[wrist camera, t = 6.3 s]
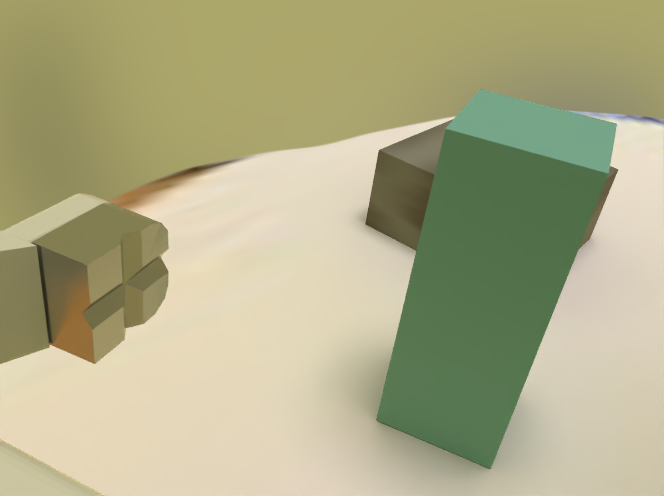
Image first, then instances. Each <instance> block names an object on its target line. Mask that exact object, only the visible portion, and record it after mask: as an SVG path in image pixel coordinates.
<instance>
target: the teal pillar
mask: <svg viewBox="0 0 664 496" xmlns="http://www.w3.org/2000/svg"><path fill="white" fill-rule="evenodd" d="M616 126H617V124H616V123H612V122H608V121H604V120H600V119H596V118H592V117H588V116H584V115H580V114H576V113H572V112H569V111H565V110H561V109H556V108H553V107H548V106H545V105H541V104H537V103H533V102H529V101H525V100H521V99H517V98H513V97H509V96H505V95H502V94H497V93H493V92H490V91H486V90H482V89H480V90H479V91H478V92H477V94H476V95H475V96H474V97H473V98H472V99H471V100H470V101H469V103H468V104H467V105H466V106H465V107H464V108H463V110H461V112H460V113H459V114H458V115H457V116H456V117H455V118H454V119H453V121H452V122H451V123H450V124H449V125H448V126H447V127H446V128H445V133H444V137H443V141H442V145H441V150H440V154H439V158H438V162H437V166H436V171H435V175H434V179H433V183H432V188H431V192H430V196H429V200H428V204H427V209H426V213H425V217H424V221H423V226H422V230H421V234H420V238H419V242H418V247H417V251H416V255H415V259H414V264H413V268H412V272H411V276H410V281H409V285H408V289H407V293H406V297H405V302H404V306H403V310H402V314H401V319H400V323H399V327H398V331H397V335H396V340H395V344H394V348H393V352H392V357H391V361H390V365H389V369H388V373H387V378H386V382H385V386H384V390H383V395H382V399H381V403H380V407H379V412H378V416H377V421H379V422H382V423H384V424H386V425H389V426H391V427H393V428H396V429H398V430H400V431H403V432H405V433H407V434H410V435H412V436H414V437H417V438H419V439H421V440H424V441H426V442H429V443H431V444H433V445H436V446H438V447H440V448H443V449H445V450H447V451H450V452H452V453H454V454H457V455H459V456H461V457H464V458H466V459H468V460H471V461H473V462H475V463H478V464H480V465H482V466H485V467H487V468H489V469H491V466H492V464H493V461H494V459H495V456H496V454H497V451H498V449H499V446H500V444H501V441H502V439H503V436H504V434H505V431H506V429H507V426H508V424H509V421H510V419H511V416H512V414H513V411H514V409H515V406H516V404H517V401H518V399H519V396H520V394H521V391H522V389H523V386H524V384H525V381H526V379H527V376H528V374H529V371H530V369H531V366H532V364H533V361H534V359H535V356H536V354H537V351H538V349H539V346H540V344H541V341H542V339H543V336H544V334H545V331H546V329H547V326H548V324H549V321H550V319H551V316H552V314H553V311H554V309H555V306H556V304H557V301H558V299H559V296H560V294H561V291H562V289H563V286H564V284H565V281H566V279H567V276H568V274H569V271H570V269H571V266H572V264H573V261H574V259H575V256H576V254H577V251H578V249H579V246H580V244H581V241H582V239H583V236H584V234H585V231H586V229H587V226H588V224H589V221H590V219H591V216H592V214H593V211H594V209H595V206H596V204H597V201H598V199H599V196H600V194H601V191H602V189H603V186H604V184H605V181H606V179H607V176H608V174H609V168H610V162H611V156H612V150H613V144H614V138H615V132H616Z"/></svg>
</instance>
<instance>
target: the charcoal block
mask: <svg viewBox="0 0 664 496" xmlns="http://www.w3.org/2000/svg"><path fill="white" fill-rule="evenodd" d="M452 121H453V120H450V121H448V122H445V123H443V124H441V125H438V126H436V127H433V128H431V129H429V130H426V131H424V132H421V133H419V134H417V135H414V136H412V137H409V138H407V139H404V140H402V141H400V142H397V143H395V144H392V145H390V146H388V147H385V148H383V149H380V150H379V153H378V158H377V164H376V169H375V175H374V180H373V186H372V191H371V197H370V202H369V208H368V213H367V219H366V225H368V226H370V227H372V228H374V229H376V230H378V231H380V232H382V233H384V234H386V235H387V236H389V237H391V238H393V239H395V240H397V241H399V242H401V243H403V244H405V245H407V246H409V247H411V248H413V249H415V250H417V247H418V242H419V238H420V234H421V230H422V226H423V221H424V217H425V213H426V209H427V204H428V200H429V196H430V192H431V188H432V183H433V179H434V175H435V171H436V166H437V162H438V158H439V154H440V150H441V145H442V141H443V137H444V133H445V128H446V127H447V126H448V125H449V124H450V123H451V122H452ZM617 171H618V169H616V168H613V167H611V166H610V168H609V174H608V176H607V179H606V181H605V184H604V186H603V189H602V191H601V194H600V196H599V199H598V201H597V204H596V206H595V209H594V211H593V214H592V216H591V219H590V221H589V224H588V226H587V229H586V231H585V234H584V236H583V239H582V241H581V244H580V246H579V248H580V247H581V246H582V245H583V244H584V243H586V242H587V241H588V240H589V239H590V237H591V235H592V232H593V230H594V227H595V225H596V222H597V220H598V218H599V215H600V213H601V210H602V208H603V205H604V203H605V201H606V198H607V196H608V193H609V191H610V188H611V186H612V184H613V181H614V179H615V176H616V174H617Z"/></svg>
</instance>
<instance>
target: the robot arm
mask: <svg viewBox="0 0 664 496" xmlns="http://www.w3.org/2000/svg"><path fill="white" fill-rule="evenodd" d="M168 249H169V248H168V230H167V229H166V228H165V227H164V226H163V225H162V224H161V223H159V222H157V221H154V220H152V219H150V218H147V217H145V216H142V215H140V214H137V213H135V212H132V211H130V210H127V209H125V208H122V207H120V206H118V205H115V204H112V203H109V202H107V201H105V200H102V199H99V198H97V197H94V196H92V195H89V194H76V195H74V196H72V197H70V198H68V199H66V200H64V201H62V202H60V203H58V204H56V205H54V206H52V207H50V208H48V209H46V210H44V211H42V212H40V213H38V214H36V215H34V216H32V217H30V218H28V219H26V220H24V221H22V222H20V223H18V224H16V225H14V226H12V227H10V228H8V229H6V230H4V231H1V230H0V364H2V363H5V362H8V361H11V360H14V359H16V358H19V357H22V356H25V355H28V354H31V353H34V352H37V351H40V350H43V349H46V348H49V347H50V345H52V346H55V347H57V348H59V349H61V350H64V351H66V352H68V353H71V354H73V355H75V356H78V357H80V358H82V359H85V360H87V361H89V362H91V363H94V364H95V363H97V362H98V361H99V360H100V359H102V358H103V357H104V356H105V355H106V354H108V353H109V352H110V351H111V350H113V349H114V348H115V347H116V346H117V345H119V344H120V343H121V342H122V341H123V340H125V332H126V328H129V327H133V326H137V325H141V324H144V323H145V322H146V321H147V320H149V319H150V318H151V317H152V316H153V315H154V314H155V313H156V312H157V310H158V308H159V307H160V305H161V303H162V302H163V300H164V299H165V295H166V291H167V287H168V270H167V268H166V266H165V264H164V263H163V261H162V259H161V256H162V255H163V254H164V253H165V252H166V251H167V250H168ZM49 344H50V345H49ZM0 496H104V495H103V494H101V493H99V492H97V491H95V490H93V489H92V488H90V487H88V486H86V485H84V484H82V483H80V482H79V481H77V480H75V479H73V478H71V477H69V476H67V475H66V474H64V473H62V472H60V471H58V470H56V469H55V468H53V467H51V466H49V465H47V464H45V463H43V462H42V461H40V460H38V459H36V458H34V457H32V456H30V455H29V454H27V453H25V452H23V451H21V450H19V449H17V448H16V447H14V446H12V445H10V444H8V443H6V442H5V441H3V440H1V439H0Z"/></svg>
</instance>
